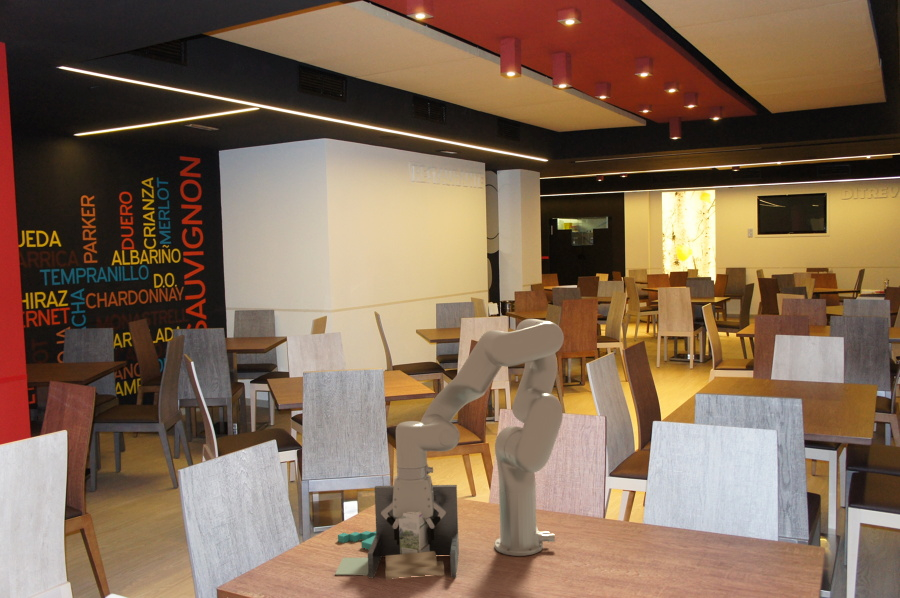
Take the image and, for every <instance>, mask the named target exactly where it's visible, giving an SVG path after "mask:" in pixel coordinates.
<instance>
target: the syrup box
mask: <svg viewBox="0 0 900 598" xmlns="http://www.w3.org/2000/svg"><path fill="white" fill-rule="evenodd" d="M428 526H429V525H428V523H427V522H426V520H425V519H423V518H422V513H421V511H415V512H406V513H403V516H402V518H401V519H399V536H400V554H410V553H420V552H430V550H429V544H428Z"/></svg>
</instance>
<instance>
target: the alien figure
mask: <svg viewBox="0 0 900 598" xmlns="http://www.w3.org/2000/svg"><path fill="white" fill-rule="evenodd" d="M375 535H376V530H375V531H370V530H365V531H362V532H357V531H354V532H351V533H346V532H341V533H340V534H337V542H338V543H342V544H345V543H347V542H354V543H357V542H359V541H361V539H363V540H362V541H361V549H363V548H366V549H370V547H371V545H372V542H373V540H374V538H375ZM358 540H359V541H358ZM356 541H357V542H356ZM366 549H365V550H366Z"/></svg>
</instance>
